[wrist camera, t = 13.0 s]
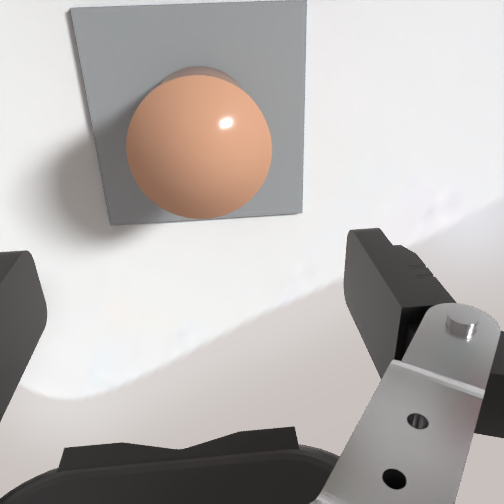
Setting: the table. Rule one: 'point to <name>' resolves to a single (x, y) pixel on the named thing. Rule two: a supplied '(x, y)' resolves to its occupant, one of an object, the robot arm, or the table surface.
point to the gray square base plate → (186, 55)
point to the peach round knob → (199, 144)
